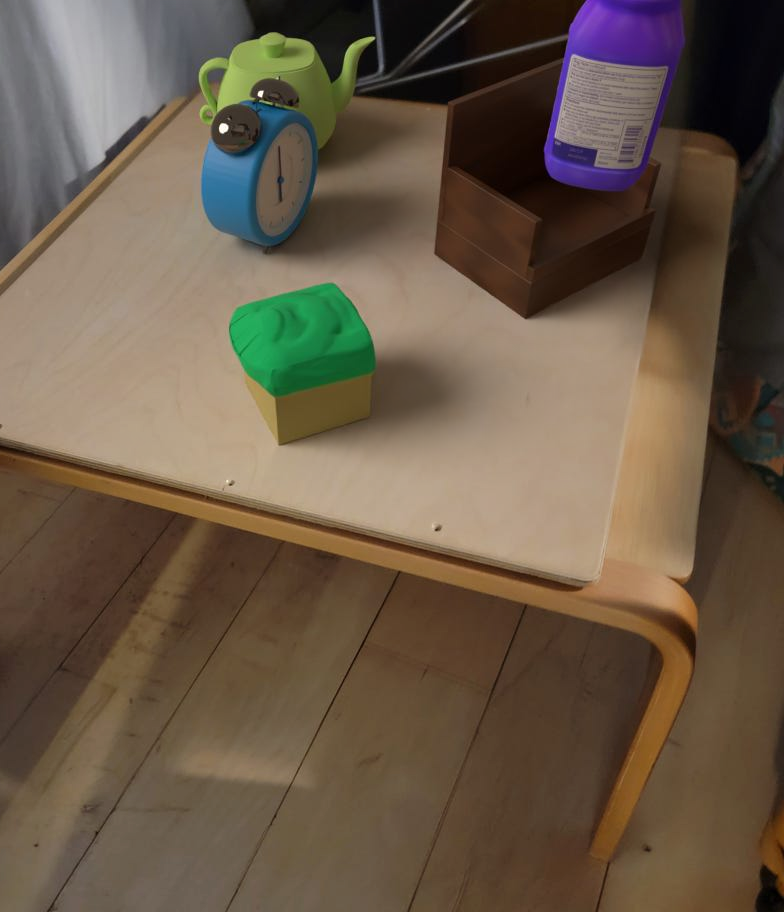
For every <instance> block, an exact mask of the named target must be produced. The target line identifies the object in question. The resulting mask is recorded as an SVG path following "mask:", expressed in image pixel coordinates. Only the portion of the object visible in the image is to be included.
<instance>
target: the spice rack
mask: <svg viewBox="0 0 784 912" xmlns="http://www.w3.org/2000/svg"><path fill="white" fill-rule="evenodd" d="M563 62H564V57H562V58H559V59H557V60H553V61H551V62H549V63H546V64H543V65H541V66H537V67H536V68H533V69H530V70H528V71H525V72H522V73H520V74H517V75H515V76H512V77H510V78H508V79H504V80H501V81H499V82H496V83H494V84H492V85H489V86H487V87H484V88H481V89H479V90H476V91H473V92H470V93H468V94H465V95H462V96H460V97H457V98H455V99H453V100H450V101H448V102H447V111H446V120H445V121H446V122H445V132H444V141H443V155H442V164H441V165H442V166H441V175H440V184H439V185H440V186H439V197H438V206H437V207H438V208H437V220H436V230H435V241H434V251H433V255H435V256H436V257H438V258H439V259H440V260H442V261H444V262H445V263H446V264H447V265H449V266H450V267H451V268H453V269H454V270H456V271H457V272H459V273H460V274H462V275H463V276H464V277H465V278H467V279H469V280H470V281H471V282H473V283H474V284H475V285H477V286H478V287H479V288H481V289H482V290H484V291H485V292H487V293H488V294H490V295H491V296H492V297H494V298H495V299H496V300H498V301H499V302H501V303H502V304H503V305H505V306H506V307H508V308H509V309H511V311H513V312H514V313H516V314H517V315H519V316H520V317H521V318H523V319H525V320H526V319H528V318H529V317H531V316H534V315H535V314H538V313H539V312H541V311H543V310H545V309H547V308H548V307H549V308H550V307H551V306H553V305H554V304H557V303H558V302H560V301H563V300H564V299H566V298H568V297H570V296H572V295H574V294H575V293H577V292H579V291H581V290H583V289H585V288H587V287H589V286H591V285H593V284H594V283H596V282H599V281H600V280H602V279H604V278H606V277H608V276H610V275H612V274H613V273H615V272H618V271H620V270H621V269H623V268H625V267H627V266H629V265H631V264H633V263H635V262H636V261H638V260H640V259H642V258H643V255H644V252H645V248H646V245H647V241H648V238H649V235H650V231H651V229H652V225H653V221H654V218H655V215H656V212H657V209H655V208H653V207H652V206H650V205H651V202H652V200H653V199H652V198H653V195H654V191H655V189H656V186H657V185H656V184H657V180H658V178H659V174H660V171H661V167H662V164H663V163H662V162H660V161H658V160H656V159H654V158H653V157H651V156H649V159H648V165H647V167H646V168H645V170H644V172H643V173H642V175H641V176H640V178H639V179H638V180H637V181H636V182H635V183H634V184H633V185H632V186H631V187H629V188H628V189H626V190H622V191H602V190H593V189H587V188H581V187H576V186H572V185H568V184H564V183H562V182H559V181H557V180H555V179H553V178H552V177H551V176H550V174H549V173H548V171H547V168H546V164H545V153H544V148H545V144H546V141H547V137H548V133H549V128H550V123H551V118H552V114H553V109H554V104H555V99H556V95H557V90H558V85H559V80H560V75H561V71H562V66H563Z"/></svg>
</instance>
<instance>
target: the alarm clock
mask: <svg viewBox="0 0 784 912" xmlns="http://www.w3.org/2000/svg"><path fill="white" fill-rule="evenodd" d="M280 77H281V76H278V75H277V78H276V79H275V78H265V79H262V80H259V81H258V82H256V83H255V84H254V85H253V87H252V88H251V91H250V95H249V97H252V98H255V99H254V100H245V101H241V102H239V103H237V104H231V105H228V106H226V107H224V108H222V109H221V110H220V111H219V112H218V113H217V114H216V115H215V117H214V119H213V121H212V124H211V126H210V139H209V141H208V144H207V147H206V151H205V154H204V158H203V163H202V168H201V177H200V178H201V179H200V195H201V202H202V207H203V211H204V213H205V216H206V218H207V220H208V222H209V223H210V224H211V226H212V227H213V228H214V229H216V230H217V231H219V232H221V233H223V234H226V235H229V236H233V237H236V238H239V239H242V240H245V241H248V242H250V243H251V242H252V243H254V244H258V245H261V246H262V254H263V255H267V253H268V250H269V247H272V246H276V245H279V244H281V243H283V242H284V241H285V240H286V239H288V238H289V237H290V236H291V235H292V234H293V232H294V231H295V230H296V229H297V227H298V225H299V224H300V222H301V221H302V219H303V218H304V215H305V213H306V211H307V209H308V206H309V205H310V201H311V198H312V196H313V191H314V188H315V185H316V179H317V174H318V165H319V150H318V145H317V138H316V134H315V130H314V127H313V125H312V123H311V122H310V120H309V119H308V118H307V117H306V116H305V115H304V114H302V113H300V112H298V111H294V110H290V109H286V108H282V107H278V106H275V103H276V104H280V105H285V106H290V107H295V108H299V95H298V93H297V91H296V89H295V88H294V87H293V86H292V85H291V84H289V83H288V82H286V81H283V80H280ZM260 100H263V101H267V102H271V103H272V105H270V104H266V103H262V102H259V101H260Z"/></svg>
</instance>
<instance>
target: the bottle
mask: <svg viewBox="0 0 784 912" xmlns="http://www.w3.org/2000/svg"><path fill="white" fill-rule="evenodd" d="M684 33H685V31H684V17H683V12H682V0H586V1H584V3H583V4H582V6H581V7H580V9H579V10H578V11H577V13H576V15H575V17H574V19H573V21H572V23H570V26H569V29H568V40H567V43H566V47H565V53H564V57H563V58H564V62H563V66H562V71H561V75H560V80H559V85H558V90H557V95H556V99H555V104H554V109H553V114H552V118H551V123H550V128H549V133H548V137H547V141H546V144H545V148H544V153H545V164H546V168H547V171H548V173H549V174H550V176H551V177H552V178H553V179H555V180H557V181H559V182H562V183H564V184H568V185H572V186H576V187H581V188H587V189H593V190H602V191H622V190H626V189H628V188H629V187H631V186H632V185H633V184H634V183H635V182H636V181H637V180H638V179H639V178H640V176H641V175H642V173H643V172H644V170H645V168H646V167H647V165H648V159H649V157H651V154H652V150H653V147H654V144H655V140H656V137H657V134H658V132H659V127H660V124H661V121H662V117H663V115H664V111H665V108H666V104H667V101H668V98H669V94H670V91H671V89H672V85H673V81H674V78H675V74H676V71H677V69H678V64H679V61H680V58H681V54H682V50H683V49H684V47H685V44H686V36H685V34H684Z"/></svg>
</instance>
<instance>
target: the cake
mask: <svg viewBox="0 0 784 912" xmlns="http://www.w3.org/2000/svg"><path fill="white" fill-rule="evenodd" d="M228 336H229V341H230V345H231V348H232V350H233V352H234V354H235V355H236V356H237V358H238V361H239V363H240V365H241V367H242V369H243V374H244V383H245V385H246V387H247V389H248V391H249V392H250V394H251V396H252V398H253V400H254V402H255V404H256V406H257V408H258V409H259V411H260V413H261V416H262V417H263V419H264V421H265V423H266V424H267V426H268V428H269V430H270V432H271V434H272V436H273V438H274V440H275V441H276V443H277V445H278V446H281V445H283V444H284V445H285V444H287V443H290V442H294V441H296V440H300V439H303V438H306V437H310V436H312V435H317V434H319V433H322V432H325V431H329V430H332V429H335V428H338V427H341V426H345V425H348V424H351V423H354V422H358V421H361V420H364V419H367V418H370V417H371V416H370V415H371V395H372V394H371V393H372V391H371V390H372V389H371V388H372V378H373V375H374V373H375V371H376V367H377V360H376V359H377V358H376V352H375V345H374V341H373V338H372V335H371V332H370V330H369V328H368V327H367V325H366V323H365V322H364V320H363V319H362V317H361V315H360V313H359V310H358V309H357V307H356V306H355V304H354V303H353V302H352V300H351V299H350V298H349V297H348V296H347V295H346V294H345V293H344V292H343V290H341V288H340V287H339V286H338V285H337V284H335V282H331V281H330V282H324V283H319V284H316V285H315V284H314V285H312V286H309V287H305V288H302V289H301V288H300V289H298V290H292V291H289V292H285V293H281V294H277V295H273V296H270V297H267V298H263V299H258V300H255V301H252V302H248V303H245V304H242V305H240V306H237V307H236V308H235V310H234V312H233V314H232V316H231V318H230V322H229V326H228Z"/></svg>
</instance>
